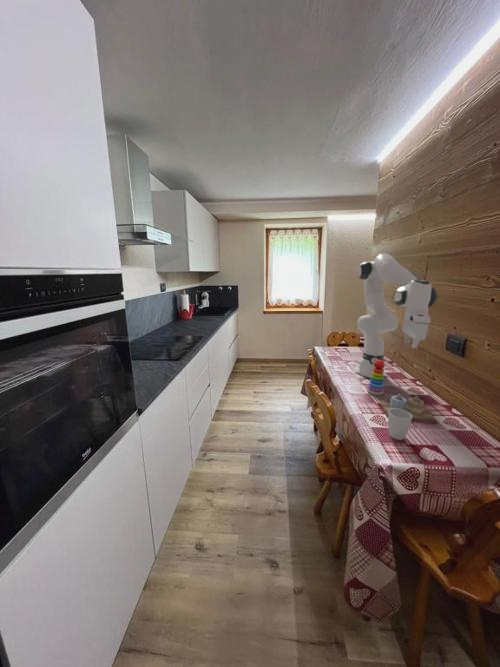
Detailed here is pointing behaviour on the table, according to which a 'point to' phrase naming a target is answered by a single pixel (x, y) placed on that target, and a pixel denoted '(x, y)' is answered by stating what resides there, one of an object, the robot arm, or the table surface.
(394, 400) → the loose gear
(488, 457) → the table surface
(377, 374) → the stacking toy
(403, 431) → the cup
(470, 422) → the table surface
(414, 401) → the gear board
